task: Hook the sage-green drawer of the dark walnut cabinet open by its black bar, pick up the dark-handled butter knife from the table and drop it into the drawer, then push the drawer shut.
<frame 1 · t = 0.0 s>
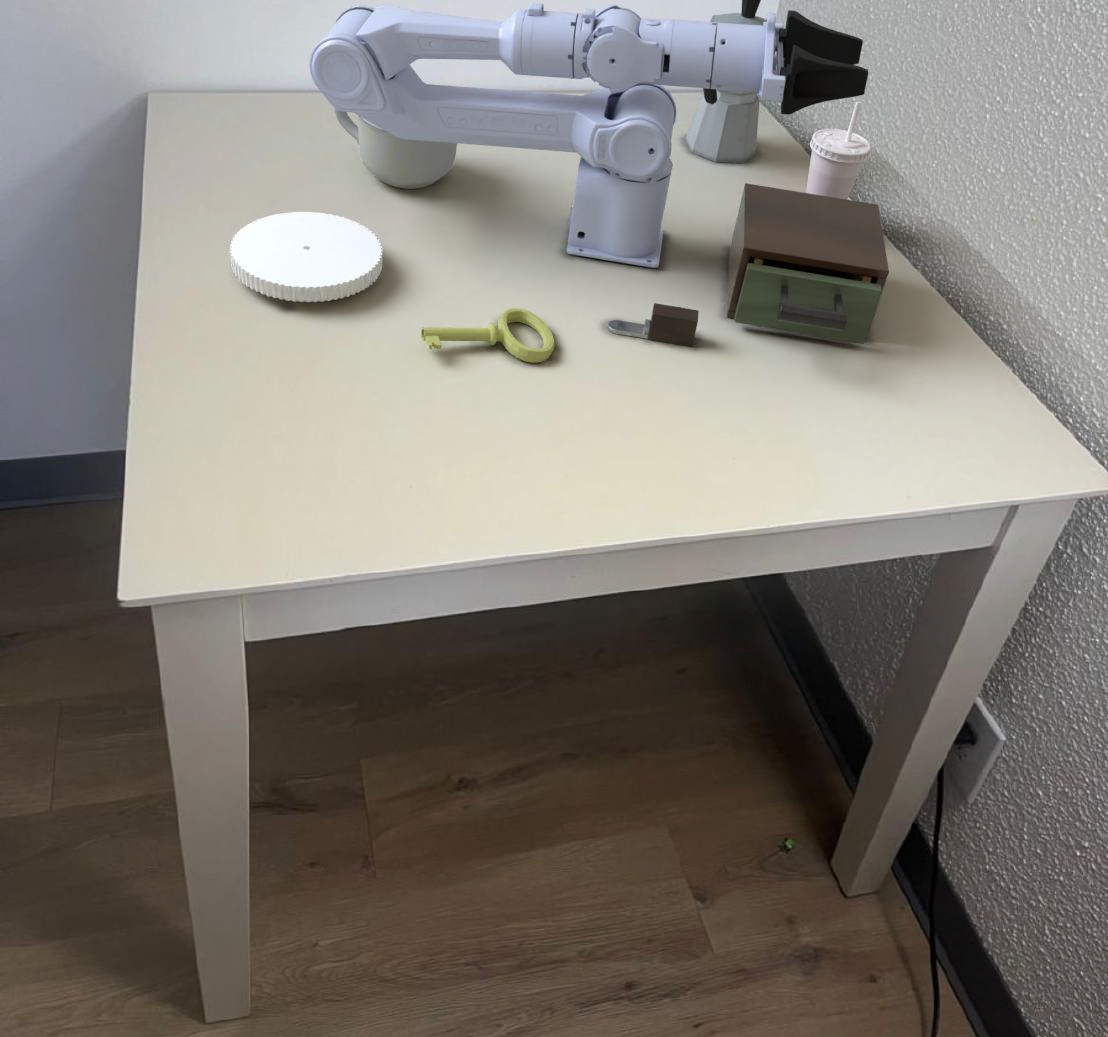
hand: (863, 66, 107), 22 cm above the table, tool horizontal, fingers open, 7 cm apart
smoothie: (817, 225, 130), on the table
key: (491, 346, 106), on the table
coffee maker: (715, 151, 142), on the table
teacup: (395, 173, 128), on the table
knife: (670, 337, 110), on the table
white gear: (307, 273, 111), on the table
drawer: (805, 286, 112), point 4 cm above the table, slide at 1.0 cm
cabinet: (794, 293, 118), on the table
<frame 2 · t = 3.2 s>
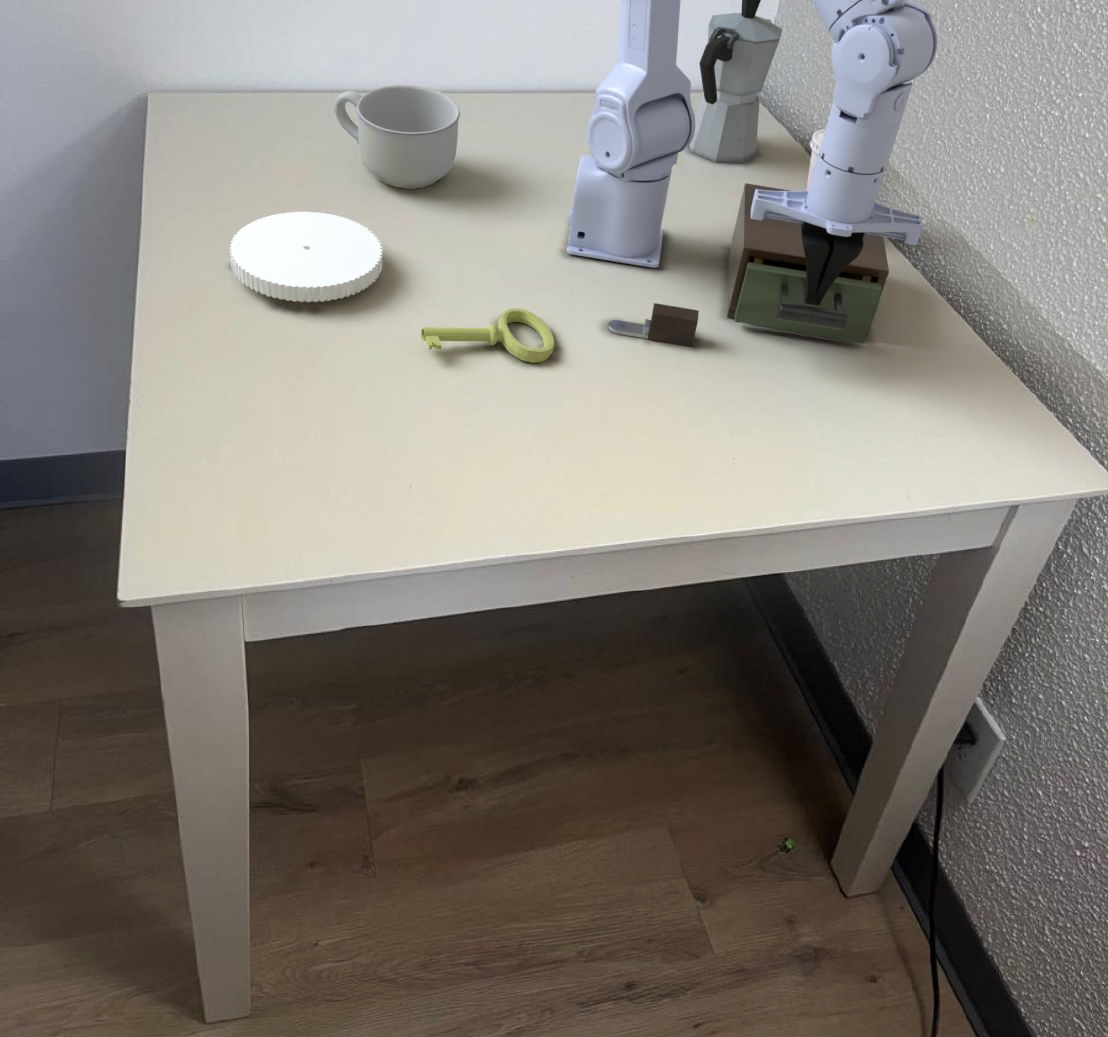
hand: (811, 299, 107), 5 cm above the table, tool pointing down, fingers closed
nothing on the table moved.
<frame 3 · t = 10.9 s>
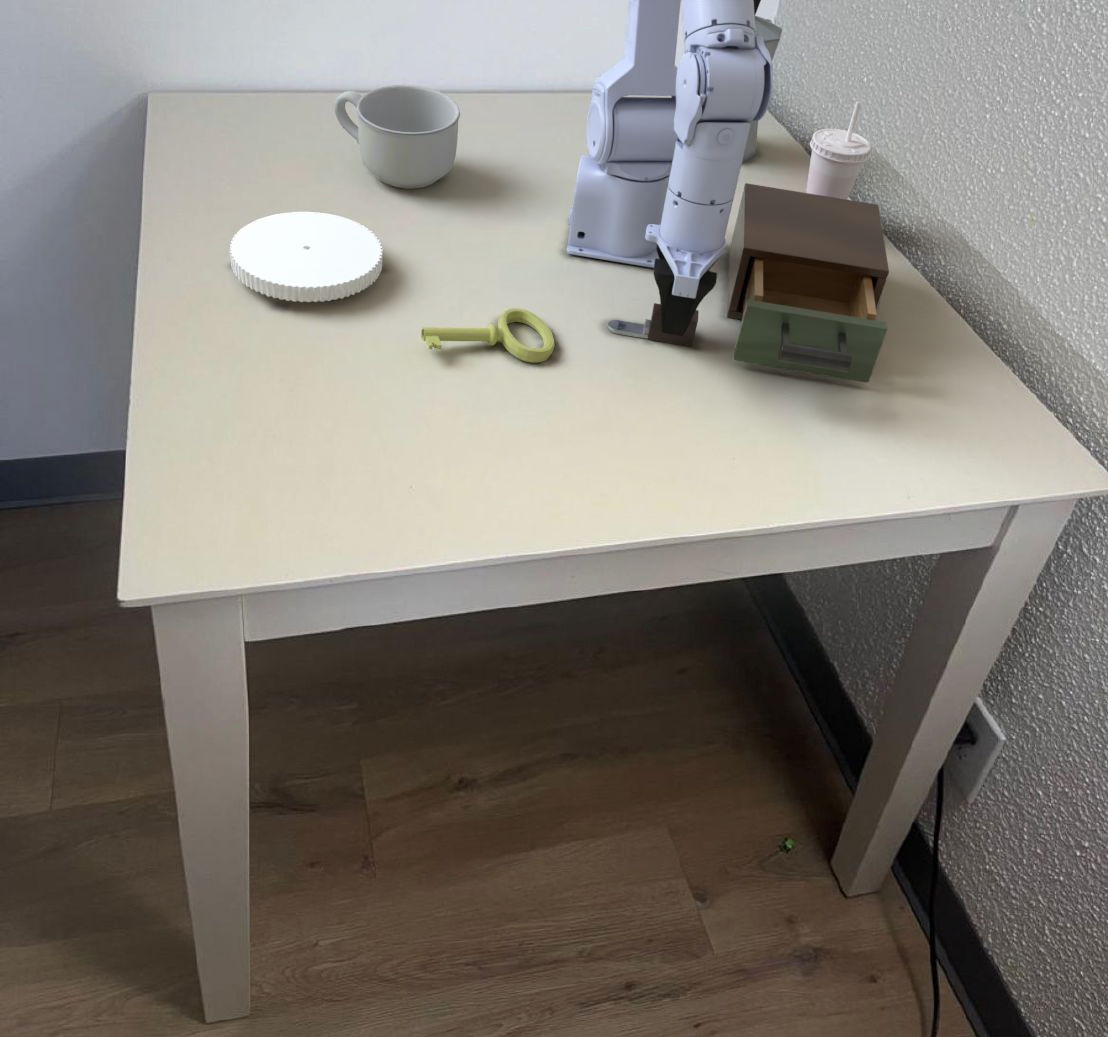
hand: (673, 324, 109), 1 cm above the table, tool pointing down, fingers closed on knife, 2 cm apart
knife: (670, 337, 110), on the table, touching gripper
drawer: (807, 322, 107), point 4 cm above the table, slide at 7.5 cm
everything else where it was.
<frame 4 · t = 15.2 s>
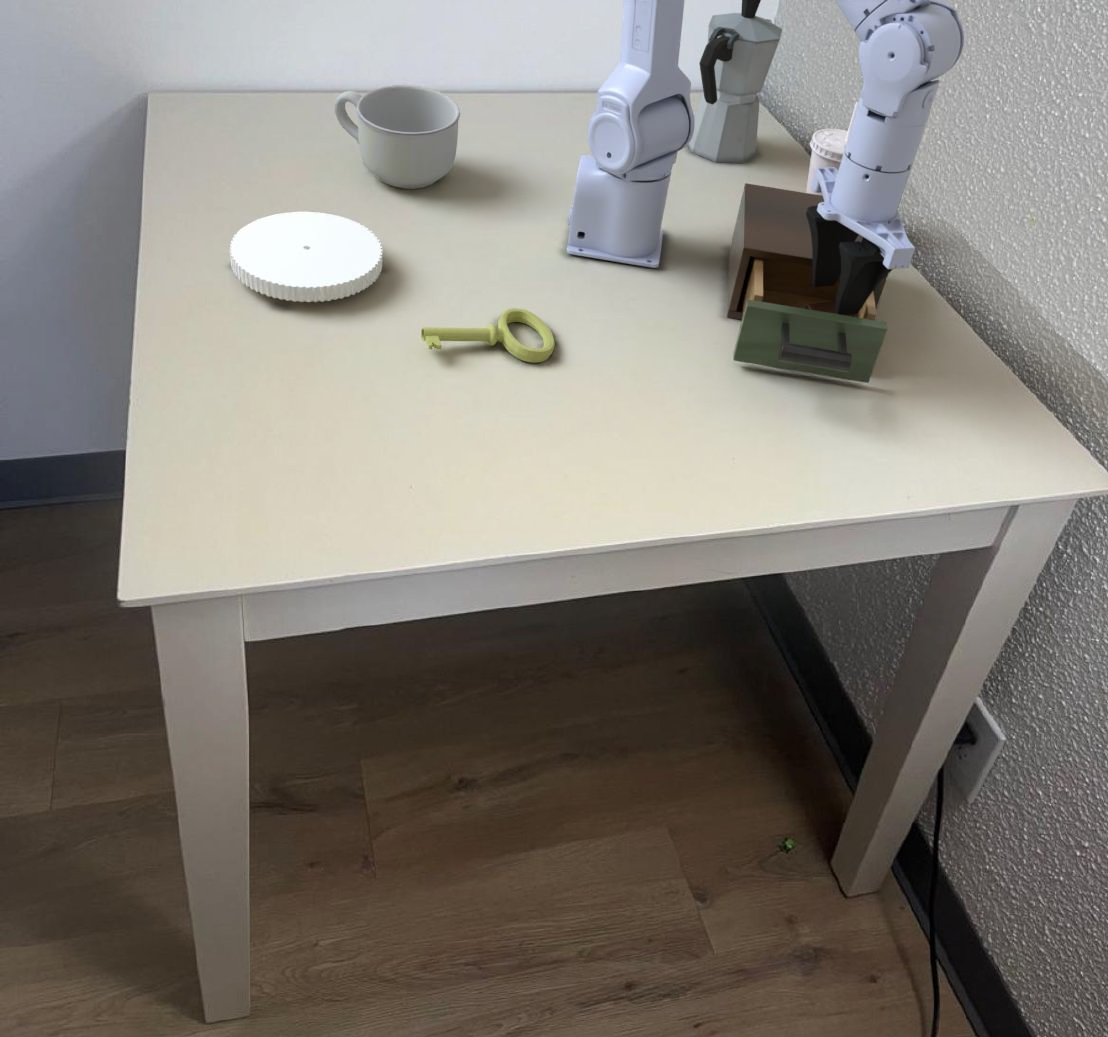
hand: (834, 298, 107), 6 cm above the table, tool pointing down, fingers open, 4 cm apart
knife: (823, 333, 109), point 2 cm above the table, touching drawer
drawer: (807, 322, 107), point 4 cm above the table, slide at 7.5 cm, touching knife
everything else where it was.
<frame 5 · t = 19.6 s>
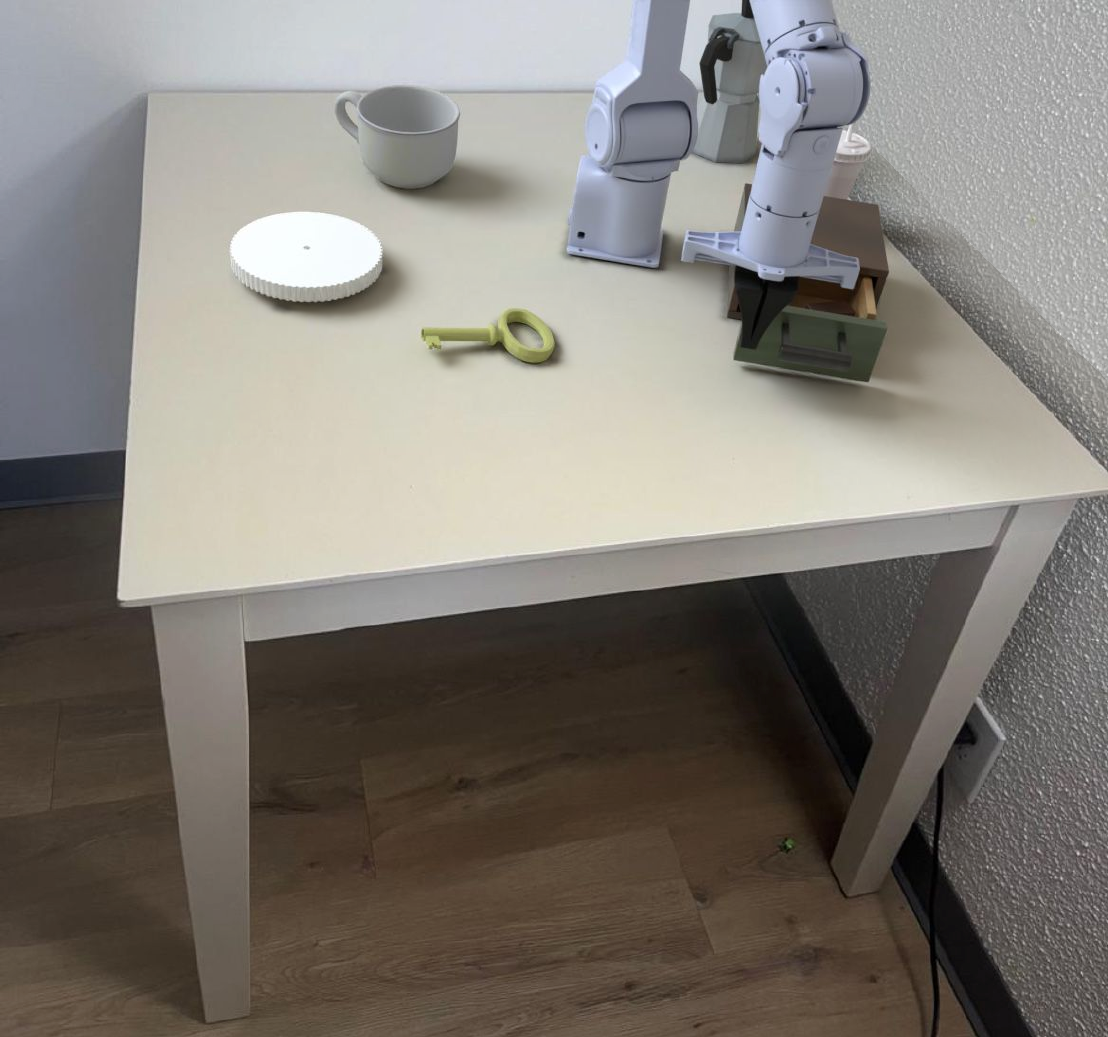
hand: (748, 342, 103), 4 cm above the table, tool pointing down, fingers closed, pressing on drawer
drawer: (807, 322, 107), point 4 cm above the table, slide at 7.5 cm, touching gripper, knife
everything else where it was.
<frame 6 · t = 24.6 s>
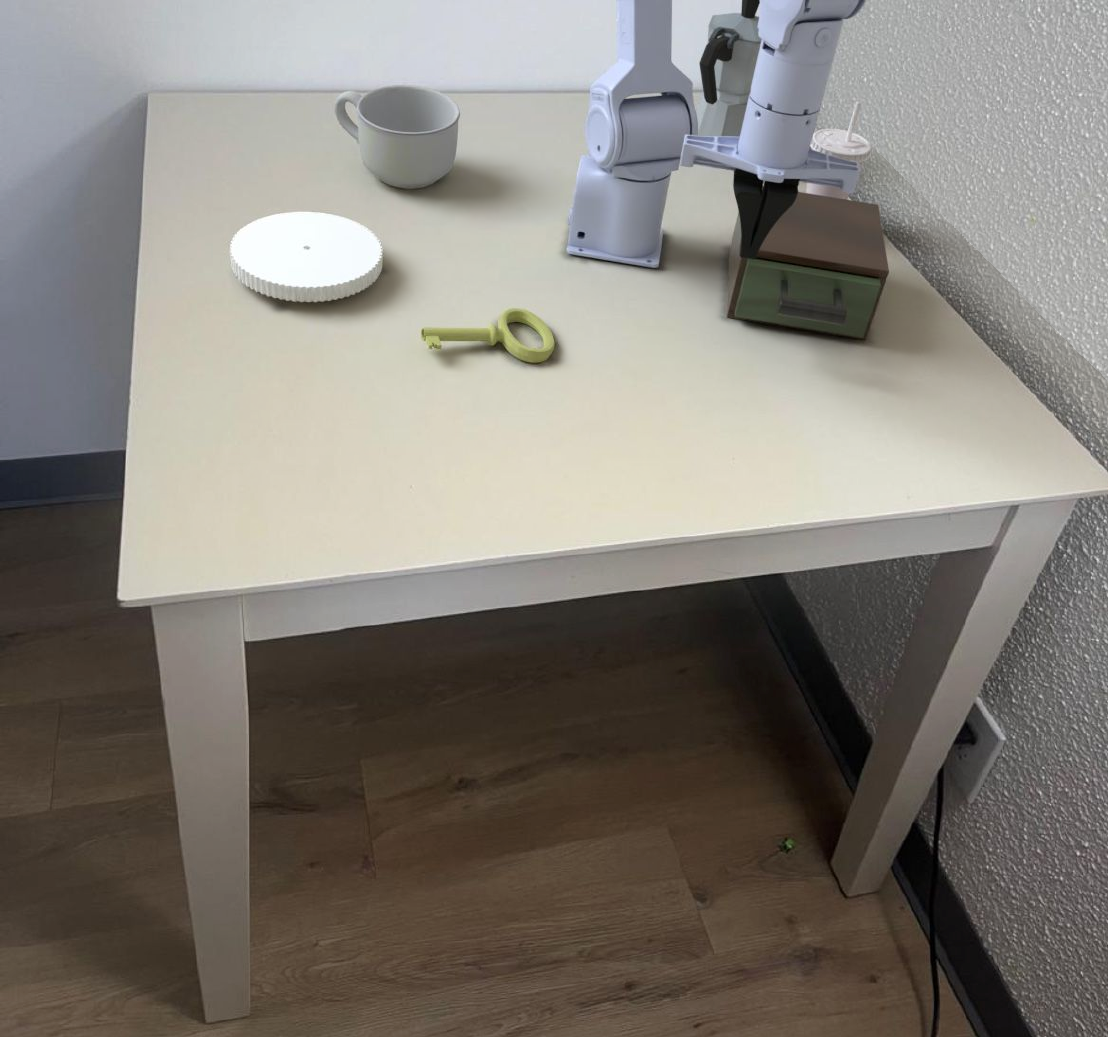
hand: (747, 252, 102), 10 cm above the table, tool pointing down, fingers closed
knife: (820, 292, 115), point 2 cm above the table, touching drawer
drawer: (805, 281, 112), point 4 cm above the table, slide at 0.0 cm, touching cabinet, knife
everything else where it was.
at the end: drawer pulled out 7.5 cm at the most during the clip, back to where it started at the end; knife inside the target area in the cabinet (3.1 cm from its centre), point 2.0 cm above the cabinet's base; drawer slide at 0.0 cm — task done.
